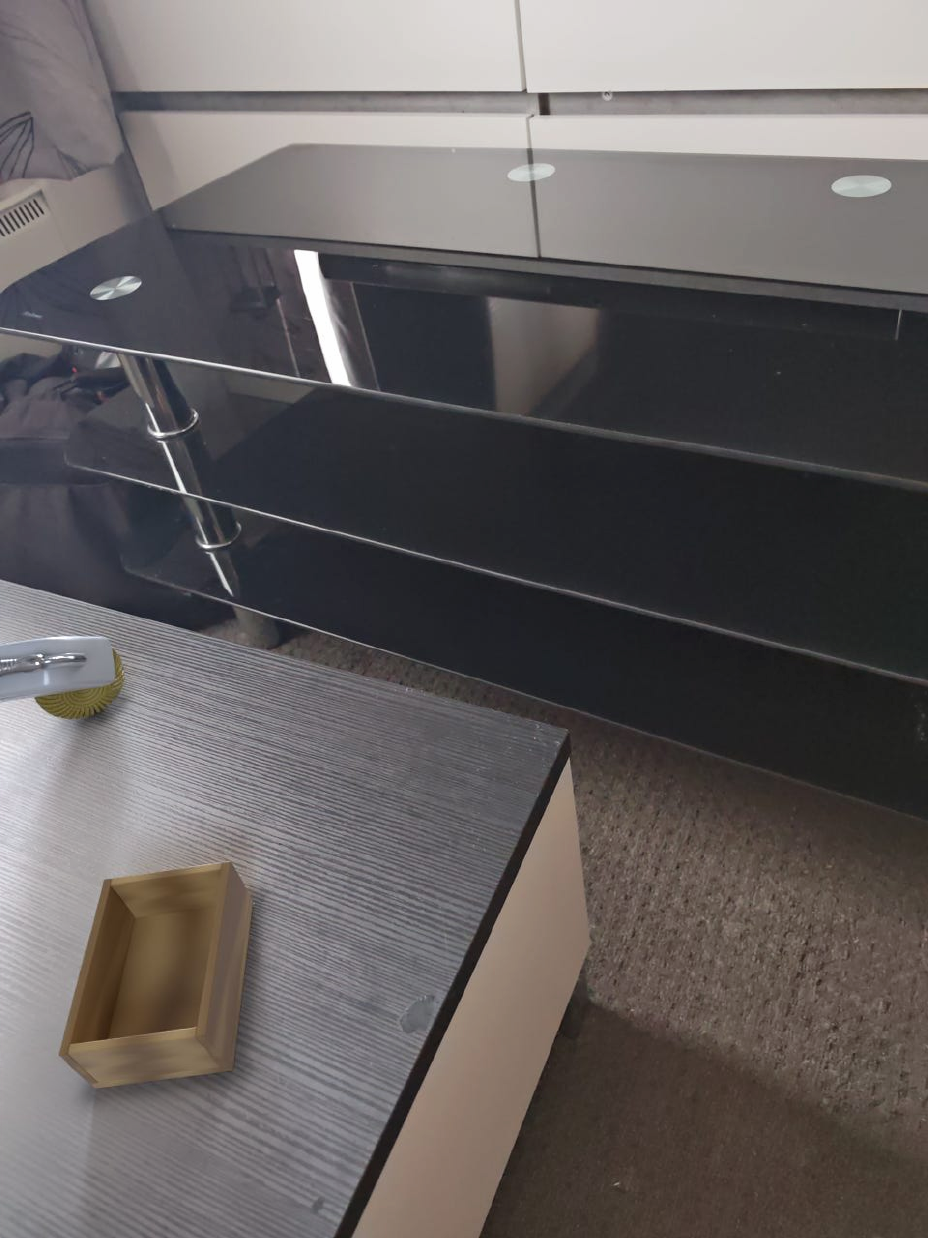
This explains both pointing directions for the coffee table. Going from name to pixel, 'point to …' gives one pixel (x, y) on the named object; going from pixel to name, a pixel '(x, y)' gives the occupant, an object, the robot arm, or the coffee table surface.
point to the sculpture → (84, 697)
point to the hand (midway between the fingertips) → (24, 679)
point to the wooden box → (161, 977)
